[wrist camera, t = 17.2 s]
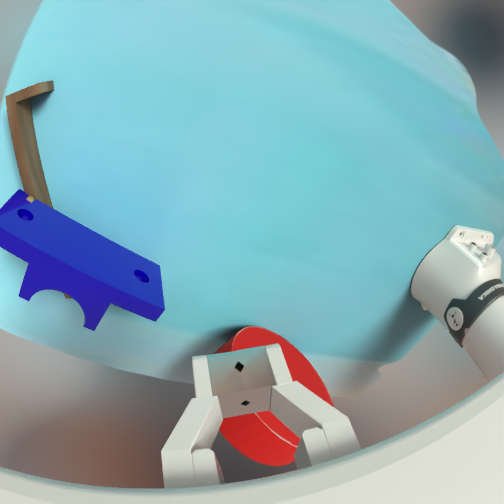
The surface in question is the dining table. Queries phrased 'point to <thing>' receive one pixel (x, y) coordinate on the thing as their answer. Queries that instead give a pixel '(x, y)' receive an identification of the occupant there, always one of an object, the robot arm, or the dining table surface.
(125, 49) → the dining table surface
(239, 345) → the red hockey puck
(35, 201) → the mounting bracket
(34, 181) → the handle
